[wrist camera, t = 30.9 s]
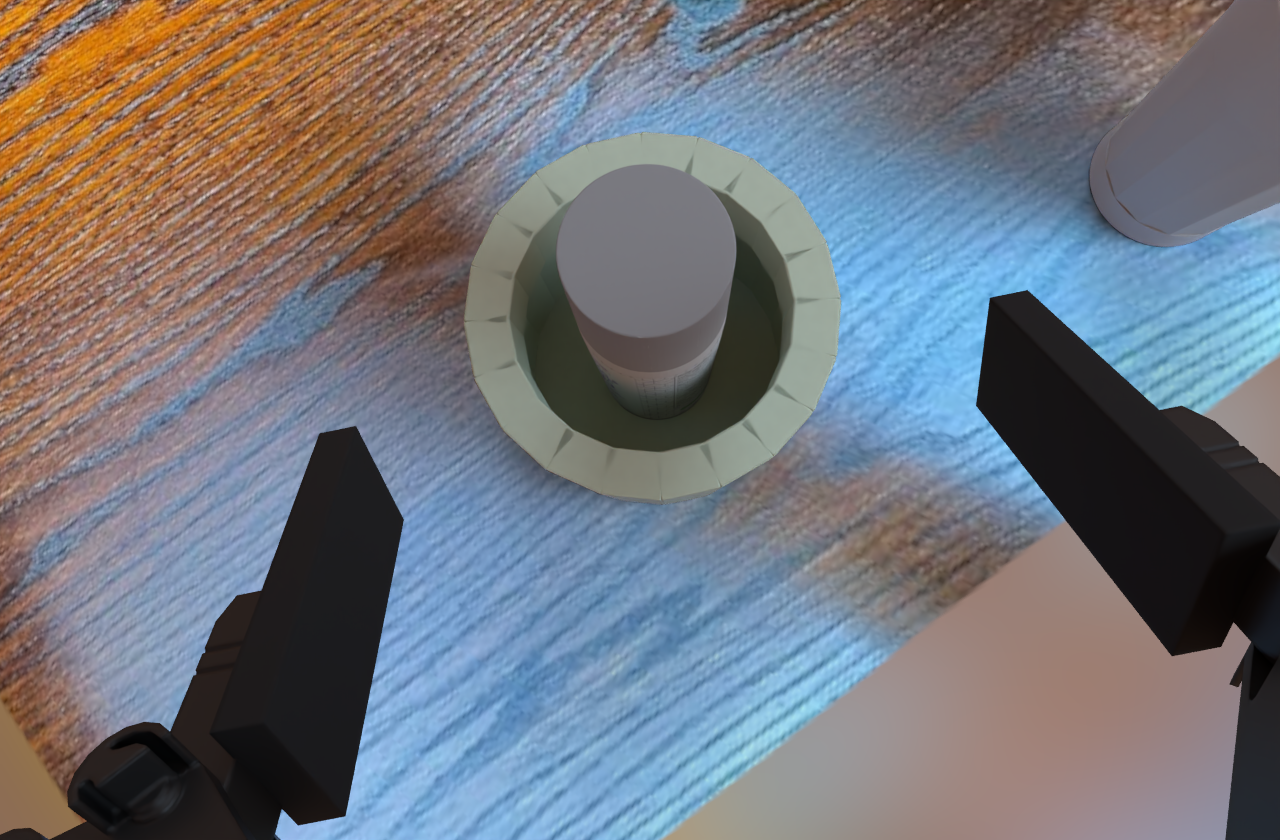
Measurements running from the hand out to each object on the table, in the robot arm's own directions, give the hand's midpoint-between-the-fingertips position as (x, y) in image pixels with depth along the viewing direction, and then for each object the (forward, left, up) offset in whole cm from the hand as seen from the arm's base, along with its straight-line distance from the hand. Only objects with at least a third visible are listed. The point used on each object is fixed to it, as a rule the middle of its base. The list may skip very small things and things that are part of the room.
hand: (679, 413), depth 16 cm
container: (+1, +4, -17) cm, 18 cm away
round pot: (+1, +4, -18) cm, 18 cm away
